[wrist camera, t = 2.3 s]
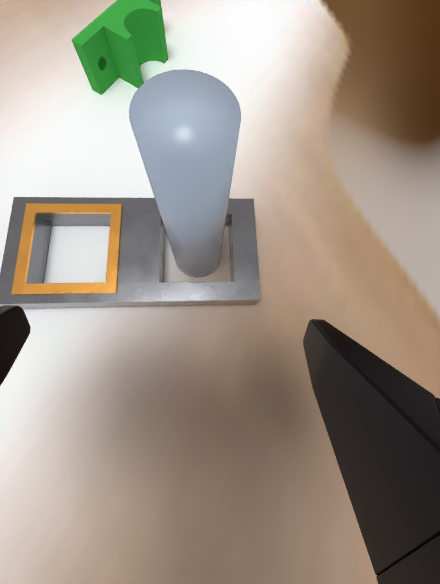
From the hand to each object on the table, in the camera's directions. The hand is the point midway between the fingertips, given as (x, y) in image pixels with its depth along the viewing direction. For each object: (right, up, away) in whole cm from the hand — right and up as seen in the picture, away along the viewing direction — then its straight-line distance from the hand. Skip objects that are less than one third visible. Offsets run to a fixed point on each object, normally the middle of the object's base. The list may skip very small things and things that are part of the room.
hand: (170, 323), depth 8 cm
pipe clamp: (-7, +26, +20) cm, 33 cm away
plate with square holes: (-5, +4, +14) cm, 16 cm away
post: (0, +4, +15) cm, 15 cm away
